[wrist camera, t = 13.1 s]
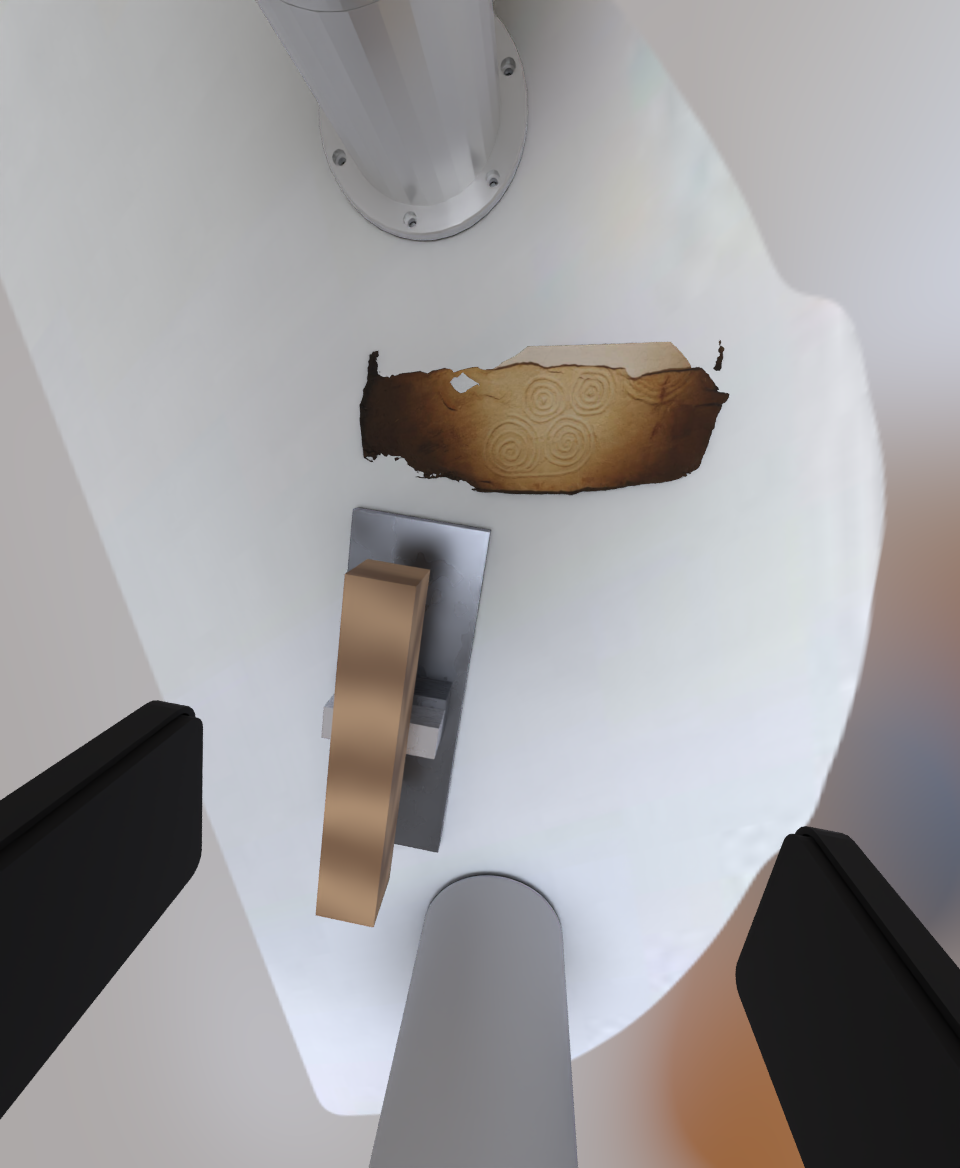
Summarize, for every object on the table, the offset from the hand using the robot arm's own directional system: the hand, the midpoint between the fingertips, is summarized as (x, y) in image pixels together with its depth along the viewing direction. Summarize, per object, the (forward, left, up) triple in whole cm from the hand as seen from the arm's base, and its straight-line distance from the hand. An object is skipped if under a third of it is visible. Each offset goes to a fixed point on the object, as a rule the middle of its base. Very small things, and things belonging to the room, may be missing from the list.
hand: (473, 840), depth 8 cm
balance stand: (+14, -7, -30) cm, 34 cm away
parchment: (-8, 0, -31) cm, 32 cm away
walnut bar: (+14, -7, -24) cm, 28 cm away
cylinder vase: (+36, +4, -31) cm, 47 cm away
